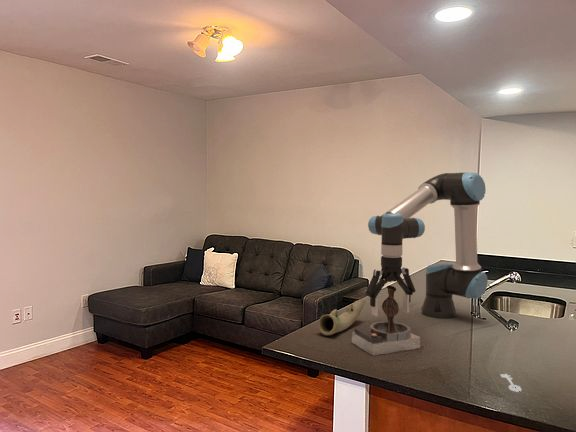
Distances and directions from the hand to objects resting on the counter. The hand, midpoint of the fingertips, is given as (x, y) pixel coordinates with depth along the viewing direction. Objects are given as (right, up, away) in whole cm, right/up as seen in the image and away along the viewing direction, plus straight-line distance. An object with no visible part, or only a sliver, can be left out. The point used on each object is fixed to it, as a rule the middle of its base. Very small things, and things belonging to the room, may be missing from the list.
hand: (390, 313), depth 161 cm
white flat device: (-2, -12, 0) cm, 12 cm away
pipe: (-15, -11, +20) cm, 27 cm away
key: (+29, -14, -31) cm, 45 cm away
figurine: (0, -8, +1) cm, 8 cm away
